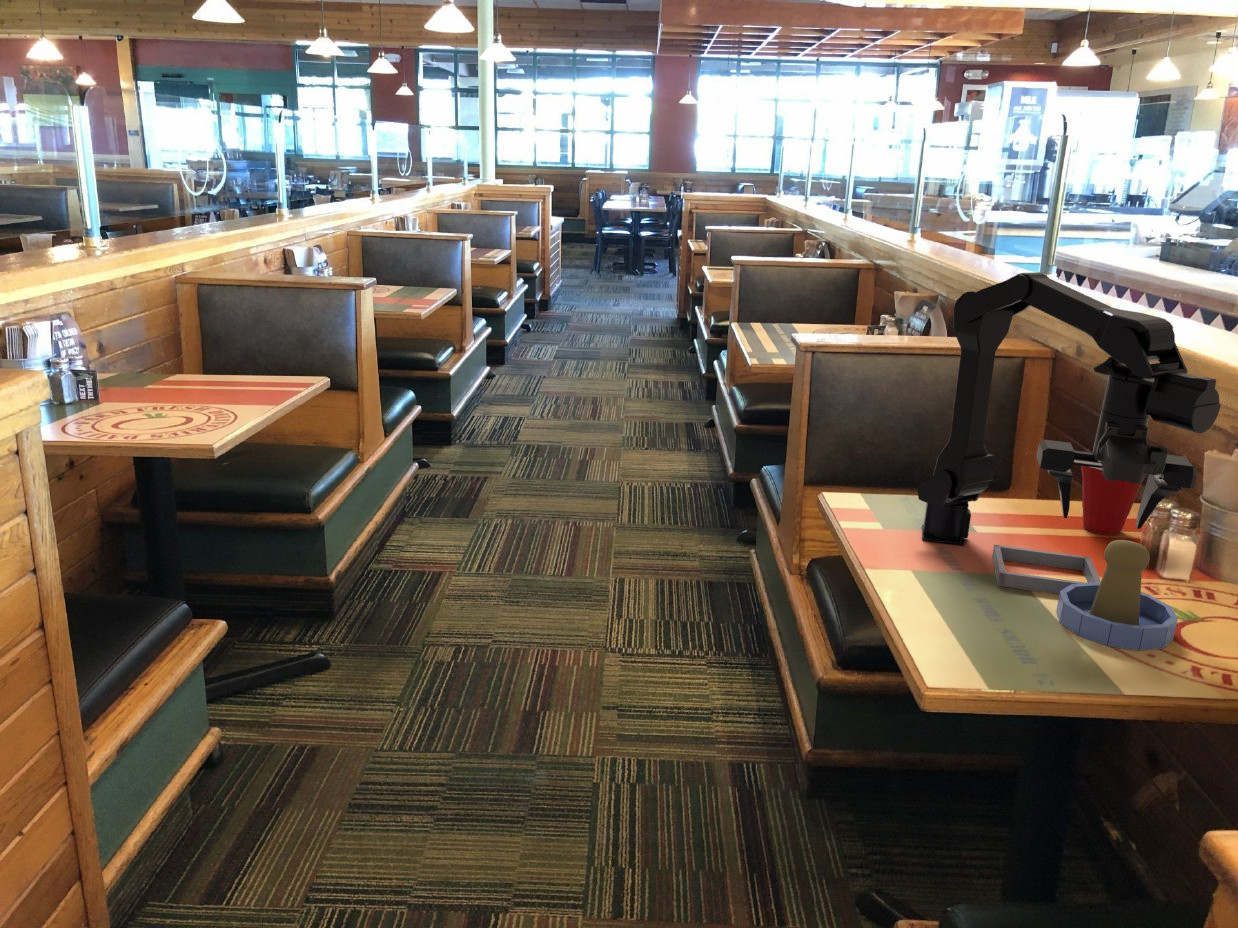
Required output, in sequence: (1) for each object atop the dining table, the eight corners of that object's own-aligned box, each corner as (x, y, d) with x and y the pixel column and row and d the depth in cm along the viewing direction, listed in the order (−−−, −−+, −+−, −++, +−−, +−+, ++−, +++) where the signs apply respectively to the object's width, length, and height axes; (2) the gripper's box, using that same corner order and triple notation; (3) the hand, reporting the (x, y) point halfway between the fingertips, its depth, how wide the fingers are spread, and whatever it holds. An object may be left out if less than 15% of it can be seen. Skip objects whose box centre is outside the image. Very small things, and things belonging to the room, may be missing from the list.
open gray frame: (997, 585, 141) (1000, 572, 140) (992, 556, 151) (994, 544, 151) (1100, 600, 137) (1103, 586, 136) (1087, 569, 148) (1089, 557, 147)
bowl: (1064, 639, 125) (1068, 618, 124) (1051, 596, 138) (1055, 577, 137) (1182, 657, 121) (1187, 635, 121) (1158, 611, 134) (1162, 591, 133)
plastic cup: (1136, 525, 168) (1150, 458, 164) (1138, 545, 158) (1153, 475, 155) (1067, 513, 172) (1079, 448, 168) (1065, 533, 162) (1078, 464, 159)
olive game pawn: (1128, 612, 132) (1144, 536, 129) (1146, 633, 126) (1163, 554, 123) (1081, 609, 133) (1096, 533, 129) (1097, 629, 127) (1113, 550, 124)
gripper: (1056, 418, 124) (1033, 532, 129) (1220, 438, 119) (1190, 555, 124) (1047, 398, 134) (1026, 505, 139) (1198, 415, 129) (1171, 525, 134)
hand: (1101, 522), depth 134 cm, fingers open, 9 cm apart
